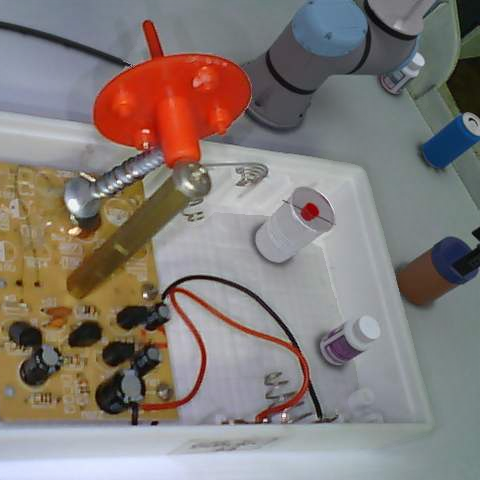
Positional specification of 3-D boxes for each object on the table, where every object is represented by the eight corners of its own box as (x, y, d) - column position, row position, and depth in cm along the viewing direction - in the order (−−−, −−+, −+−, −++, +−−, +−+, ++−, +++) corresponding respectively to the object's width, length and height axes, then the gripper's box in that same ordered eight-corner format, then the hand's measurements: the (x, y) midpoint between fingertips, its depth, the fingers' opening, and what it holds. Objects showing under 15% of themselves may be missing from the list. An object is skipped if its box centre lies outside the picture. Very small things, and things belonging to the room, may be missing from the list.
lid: (438, 282, 133) (448, 276, 131) (426, 239, 137) (435, 233, 135) (474, 287, 136) (484, 281, 135) (461, 245, 141) (470, 239, 139)
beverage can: (445, 154, 168) (487, 121, 159) (443, 175, 164) (486, 142, 155) (421, 139, 167) (462, 105, 158) (418, 160, 163) (460, 126, 154)
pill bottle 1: (349, 367, 128) (387, 345, 120) (322, 364, 125) (359, 342, 118) (342, 336, 130) (380, 313, 123) (316, 333, 128) (352, 309, 121)
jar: (402, 303, 140) (446, 276, 132) (392, 264, 144) (434, 235, 136) (436, 308, 144) (481, 282, 135) (425, 269, 147) (468, 241, 139)
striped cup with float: (299, 235, 137) (340, 200, 128) (295, 275, 132) (338, 242, 123) (250, 213, 135) (288, 176, 125) (244, 253, 130) (284, 217, 120)
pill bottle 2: (398, 80, 174) (426, 54, 167) (400, 97, 171) (429, 71, 164) (379, 71, 173) (406, 44, 166) (381, 89, 170) (408, 62, 163)
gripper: (578, 239, 109) (462, 306, 126) (611, 166, 123) (503, 235, 140) (538, 201, 110) (428, 273, 127) (576, 132, 124) (472, 205, 141)
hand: (467, 253), depth 134 cm, fingers open, 10 cm apart
